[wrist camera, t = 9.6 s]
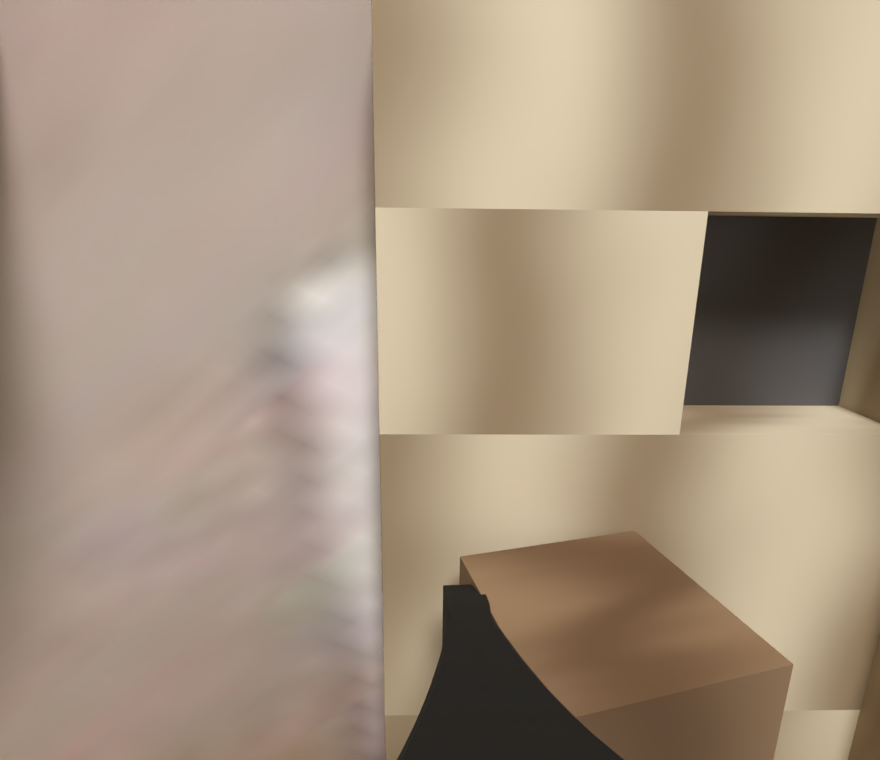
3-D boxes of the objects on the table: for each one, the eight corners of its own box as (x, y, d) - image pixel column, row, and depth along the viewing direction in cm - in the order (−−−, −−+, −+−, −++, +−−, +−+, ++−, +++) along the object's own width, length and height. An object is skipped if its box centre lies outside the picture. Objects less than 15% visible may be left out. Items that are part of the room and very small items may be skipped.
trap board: (977, -3, 13) (1258, -124, 9) (769, 914, 21) (861, 1096, 16) (380, -17, 13) (356, -151, 8) (394, 922, 20) (386, 1111, 16)
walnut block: (634, 530, 14) (793, 664, 9) (617, 682, 15) (752, 862, 10) (459, 556, 12) (552, 722, 8) (455, 719, 13) (534, 938, 9)
